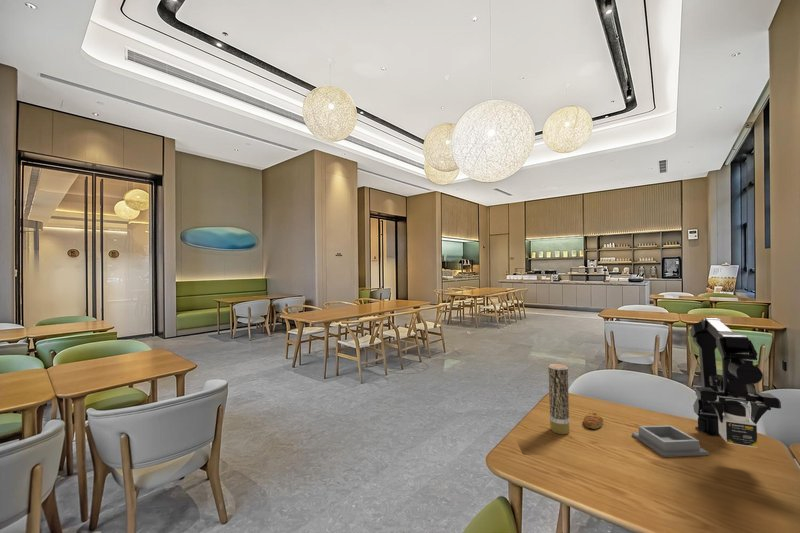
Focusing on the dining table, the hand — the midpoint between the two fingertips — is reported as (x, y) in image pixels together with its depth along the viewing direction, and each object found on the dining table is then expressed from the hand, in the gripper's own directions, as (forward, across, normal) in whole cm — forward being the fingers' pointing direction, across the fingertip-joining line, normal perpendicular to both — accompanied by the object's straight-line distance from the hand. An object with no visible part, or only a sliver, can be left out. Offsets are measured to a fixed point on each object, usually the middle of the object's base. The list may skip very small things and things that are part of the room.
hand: (736, 424), depth 109 cm
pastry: (+13, +39, -14) cm, 43 cm away
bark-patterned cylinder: (+12, +51, -3) cm, 53 cm away
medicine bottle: (+5, 0, 0) cm, 5 cm away
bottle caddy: (+12, +17, -6) cm, 22 cm away
